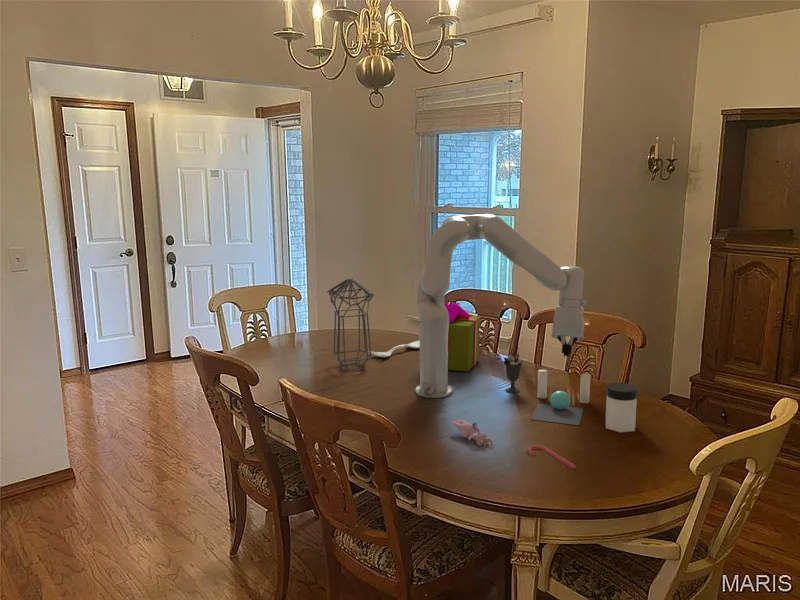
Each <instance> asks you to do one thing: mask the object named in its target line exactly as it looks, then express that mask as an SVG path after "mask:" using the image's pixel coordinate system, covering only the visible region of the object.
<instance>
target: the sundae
mask: <svg viewBox="0 0 800 600" xmlns="http://www.w3.org/2000/svg"><path fill="white" fill-rule="evenodd" d="M518 351H519V347H516V350H515V351H514V352H512V353H511V354H509V355H507V357H504V358H503V361H502V362H503V363H502V364H503V365H504V366H505V371H506V373H505V375H506V378H507V379H508V380H509V381H510V387H507V388H506V389H505V390H504V391H505V392H506V393H509V394H518V392H519V393H520V392H521V390H520V389H518V388H516V386H515V385H516V384H515V382H516V381H517V380H519V378H520V374H521V367H522V365H523V364H524V362H522V359H521V358H520V355H519V354H518Z"/></svg>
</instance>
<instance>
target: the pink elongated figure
mask: <svg viewBox="0 0 800 600" xmlns="http://www.w3.org/2000/svg"><path fill="white" fill-rule="evenodd" d="M450 423H452V425H454V427H455V428H457V430H459V431H460V434H461V436H462V437H463V438H466V439H468V441H471V439H473V440H474V441H475V442H476V444H477V446H478V447H483V448H484V449H486V448H487V445H488V444H489V442H490V446H491V447H492V446H494V442H493V440H492V439H491V438H489V437H488V436H487V432H481V430H480V428H479V426H478V425H477V424H478V422H476V421H473V423H472V424H471V423H470V422H467V421H466V420H464V419H456V420H454V421H453V420H452V421H451V422H450ZM483 445H484V446H483Z"/></svg>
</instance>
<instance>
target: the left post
mask: <svg viewBox="0 0 800 600" xmlns="http://www.w3.org/2000/svg"><path fill="white" fill-rule="evenodd" d="M536 389H537V394H536V395H537V398H538V399H540V400H541V399H547V393H548V392H547V391H548V370H547V369H538V370H537V388H536Z"/></svg>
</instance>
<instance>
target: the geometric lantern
mask: <svg viewBox="0 0 800 600" xmlns="http://www.w3.org/2000/svg"><path fill="white" fill-rule="evenodd" d="M354 285H355V286H356V287H357V288H355V286H354ZM361 291H363V292H364V294H365V295H363V296H358V294H359V293H360V292H361ZM326 293H328V294H329V297H330V303H331V304H332V305H333V306H334V309H335V311H333V313H334V327H333V329H334V331H333V334H334V335H333V356H334V357H335V359H336V360H337V362H339V368H341V369H342V370H343V371H345V372H346V371H355V370H362V369H365V368H366V363H367V361H369V360H370V359H372V354H371V351H372V349H371V336H370V335H371V334H370V322H369V302H370V301H371V300H372V299H373V298H374V296H375V293H373V292H372V291H370V290H369V289H367V288H366V287H365V286H363V285H362V284H360V283H359V282H357V281H356V280H354V279H353V278H346V279H345V280H343V281H342V282H340V283H337V285H335V286H334V287H332V288H330V289H329V290H328V291H326ZM345 293H348V296H345ZM352 293H354V294H353V295H352ZM363 298H364V299H363ZM337 299H340V300H341V301H340V304H339V306H338V309H337V305H336V300H337ZM358 299H362V300H360V301H359V302H358ZM346 300H348V301H346ZM351 300H352V301H353V302H354V303H353V304H352V303H351V302H350V301H351ZM343 302H344V303H346V304H347V305H349V306H348V308H346V309H344V310H343V309H342V310H340V309H341V307H342V303H343ZM363 302H364V303H363ZM362 303H363V305H362V307H361V306H360V304H362ZM366 303H367V311H365V310H364V307H365V305H366ZM353 306H354V307H355V306H357V307H358V308H354V309H353V308H352V309H351V307H353ZM350 311H358V315H356V314H355V315H346V313H347V312H350ZM341 312H344V314H343V315H340V313H341ZM351 317H353V318H354V317H358V349H354V350H346V344H345V322H344V321H345V320H344V318H351ZM361 317H362V318H361ZM361 319H362V320H361ZM341 321H342V342H343V343H342V344H343V351H340V350H341V349H340V348H341V347H340V346H341V345H340V343H341V340H340V339H341ZM361 321H362V331H363V343H364V344H363V345H364V349H361ZM366 326H367V327H366ZM336 327H337V328H336ZM336 332H337V333H336ZM336 334H337V337H336ZM367 336H368V337H367ZM367 338H368V339H367ZM336 339H337V341H336ZM336 342H337V344H336ZM368 347H369V350H368ZM368 351H370V353H368ZM353 352H357V354H356V357H353V358H351V357H350V358H346V353H353ZM360 352H362V354H361V355H360V356H359V353H360ZM340 354H343V359H342V358H341V357H340ZM364 354H366V358H361V357H362V356H363V355H364ZM360 361H361V362H362V363H361V362H360ZM347 362H350V363H347ZM344 363H345V364H344ZM359 365H360V366H362V367H357V368H351V369H349V367H350V366H359ZM342 366H344V367H342Z"/></svg>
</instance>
